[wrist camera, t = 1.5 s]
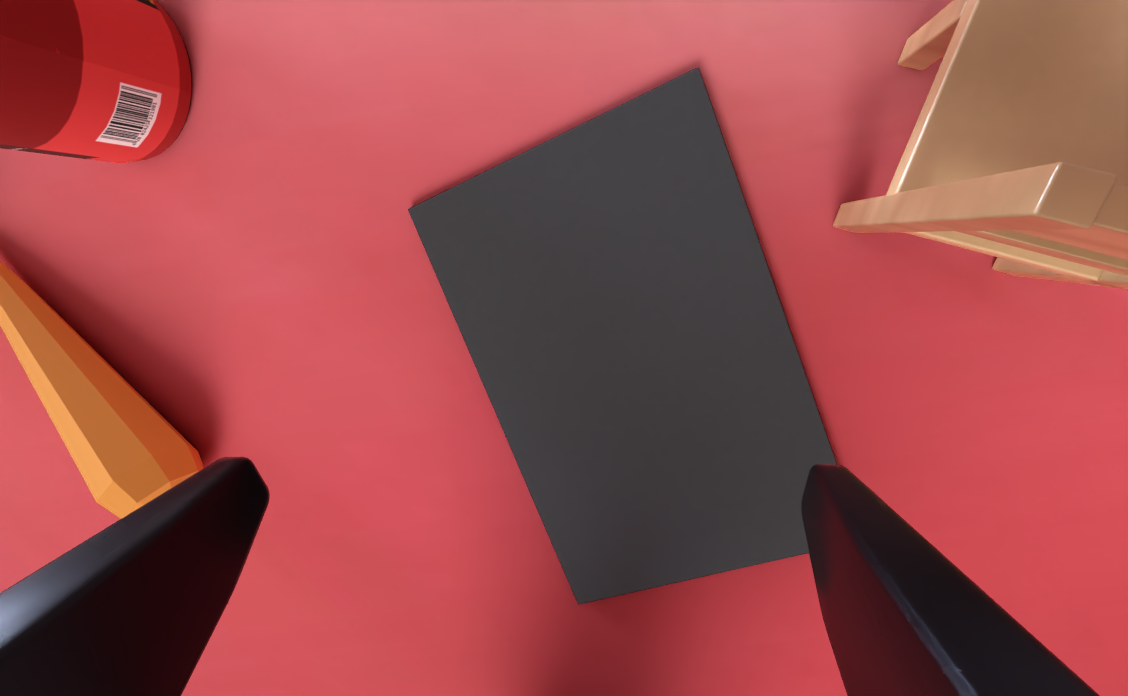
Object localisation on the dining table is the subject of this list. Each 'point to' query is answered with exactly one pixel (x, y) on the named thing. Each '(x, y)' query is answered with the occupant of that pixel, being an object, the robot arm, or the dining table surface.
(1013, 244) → the toy chair
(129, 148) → the canned food
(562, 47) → the dining table surface
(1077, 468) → the dining table surface
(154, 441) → the carrot
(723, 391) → the mat
